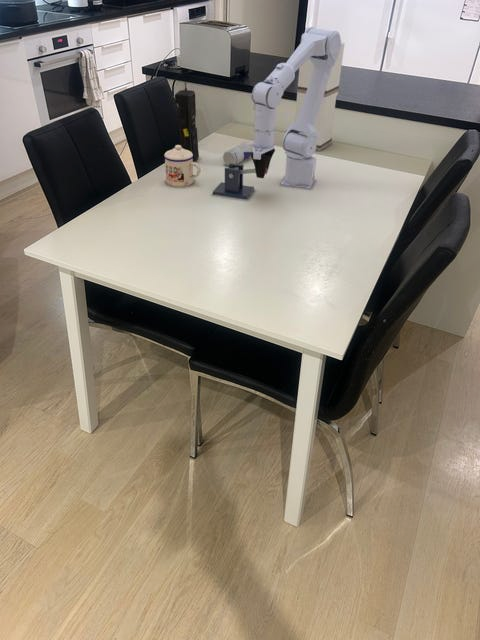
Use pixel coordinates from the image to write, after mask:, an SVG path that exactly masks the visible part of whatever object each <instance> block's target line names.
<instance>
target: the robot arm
mask: <svg viewBox="0 0 480 640" xmlns="http://www.w3.org/2000/svg"><path fill="white" fill-rule="evenodd" d="M342 43H343V42H342V39H341V34H340V32H339V31H337V30H330V29H329V30H328V29H322V28H316V27H312V26H309V27H308V28H307V29H306V30H305V31H304V33H302V34H301V38H300V43H299V45H298V46H297V47H296V49H295V50H294V52H293V53H292V54H291V56H289V58H288V59H287V61H286V62H280V63H278V64H277V65H276V66H275V68H274V69H273V71H271V73H270V74H269V75H268V76H267V77H266V78H265V79H264V80H263V81H261V82H260V81H259V82H258V83H256V84H255V85H254V86H253V89H252V91H251V94H250V100H251V102H252V103H253V105H252V106H253V111H254V126H253V127H254V129H253V141H251V142H250V143H249V144H250V146H251V147H253V153H252V154H251V157H250V158H251V160H252V162H253V165H254V169H255V171H256V173H255V175H256V178H257V179H264V178H265V176H266V175H267V174H268V172H269V168H270V165H271V164H270V163H271V160H272V158H273V155H274V153H275V152H276V149H275V142H274V141H275V126H276V125H275V124H276V111H277V107H278V106H279V105H280V103H281V100H282V97H283V96H284V92H285V90H286V89H287V88H288V87H289V86H290V85H291V83H293V81H294V80H295V78H296V72H297V71H299V68H300V67H301V66H302V65H303V64H304V63H305V62H306V61H307V60H308V59H310V61H312V62H313V65H314V69H313V73H312V76H311V79H310V82H309V85H308V88H307V91H306V94H305V98H304V101H303V104H302V107H301V110H300V113H299V116H298V120H297V121H296V122H295V121H294V122H293V123H290V125H288V127H287V130H286V133H285V134H284V135H283V137H282V141H281V147H282V149H283V150H284V154H285V155H286V159H285V160H286V161H285V172H284V173H285V174H284V178H283V180H282V181H281V182H280V183H281V186H288V187H294V188H295V187H296V188H303V189H311V188H312V186H313V184H314V181H315V175H316V165H317V157H316V156H315V157H314V156H313V155H314V154H315V153H316V147H317V138H318V133H317V132H316V130H315V128H314V123H315V120H316V117H317V114H318V111H319V108H320V105H321V102H322V99H323V96H324V93H325V90H326V87H327V84H328V81H329V77H330V74H331V71H332V68H333V66H334V65H335V63H336V60H337V57H338V54H339V51H340V48H341V45H342ZM299 132H302V133H305V134H307V136H306V135H303V134H300V133H299ZM266 167H267V173H266V174H265V172H266Z"/></svg>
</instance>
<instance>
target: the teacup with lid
mask: <svg viewBox="0 0 480 640" xmlns="http://www.w3.org/2000/svg"><path fill="white" fill-rule="evenodd" d="M163 158H164V164H165V165H164V166H165V181H166V184H168V185H169V186H172V187H187V186H189V185H192V184H193V183H194V179H196V178H198V177H199V176H200V174H201V166H200V165H199V163H197V162H196V161H195V162H193V154H192V152H190V151H188V150H185V149H183V148H182V147H181V145H180V144H175V146H174V147H173V148H172V149H169V150H167V151H166V152H165V153H164V155H163ZM194 167H196V170H197V171H196V174H194Z"/></svg>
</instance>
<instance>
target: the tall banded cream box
mask: <svg viewBox="0 0 480 640" xmlns="http://www.w3.org/2000/svg"><path fill="white" fill-rule="evenodd" d="M341 43H342V45H341V48H340V51H339V54H338V57H337V60H336V63H335V65H334V66H333V68H332V71H331V74H330V77H329V81H328V84H327V87H326V90H325V93H324V96H323V99H322V102H321V105H320V108H319V111H318V114H317V117H316V120H315V123H314V128H315V130H316V132H317V133H318V138H317V147H316V150H315V152H316V151H317V152H321V151H322V150H324V149H325V148H327V147H329V146H330V145H332V140H333V138H332V131H333V124H334V117H335V111H336V110H335V109H336V101H337V96H338V95H339V88H340V81H341V72H342V65H343V60H344V59H343V57H344V52H345V50H344V49H345V42H341ZM313 69H314V65H313V62H312V61H310V59H308V60H307V61H306V62H305V63H304V64H303V65H302V66H301V67H300V68H299V69H298V80H297V91H296V101H295V103H296V104H295V112H294V113H295V114H294V115H295V116H294V123H295V122H296V121H297V120H298V116H299V113H300V110H301V107H302V104H303V101H304V98H305V94H306V91H307V88H308V85H309V82H310V79H311V76H312V73H313ZM299 133H300V134H303V135H306V136H307V134H305V133H302V132H299Z"/></svg>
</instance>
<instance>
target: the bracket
mask: <svg viewBox="0 0 480 640" xmlns="http://www.w3.org/2000/svg"><path fill="white" fill-rule="evenodd" d="M235 167H239V169H232V168H235ZM240 170H244V164H240V163H238V164H232V163H230V164H229V166H228V167H224V182H223V181H221V182H220V183H219V184H218V185H217V186H216V187H215V189H214V190H213V191H212V195H214V196H220V197H221V196H222V197H227V198H234V199H242V200H248V199H249V198H250V197H251V195H252V193H253V192H254V191H255V187H254V186H250V185H244V174H240Z"/></svg>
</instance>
